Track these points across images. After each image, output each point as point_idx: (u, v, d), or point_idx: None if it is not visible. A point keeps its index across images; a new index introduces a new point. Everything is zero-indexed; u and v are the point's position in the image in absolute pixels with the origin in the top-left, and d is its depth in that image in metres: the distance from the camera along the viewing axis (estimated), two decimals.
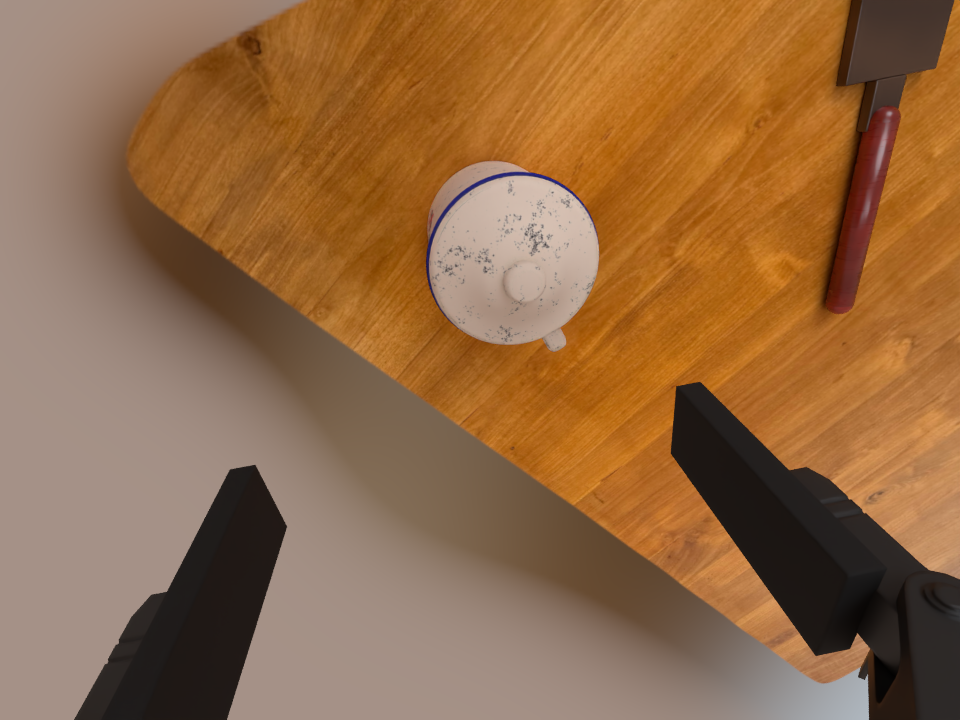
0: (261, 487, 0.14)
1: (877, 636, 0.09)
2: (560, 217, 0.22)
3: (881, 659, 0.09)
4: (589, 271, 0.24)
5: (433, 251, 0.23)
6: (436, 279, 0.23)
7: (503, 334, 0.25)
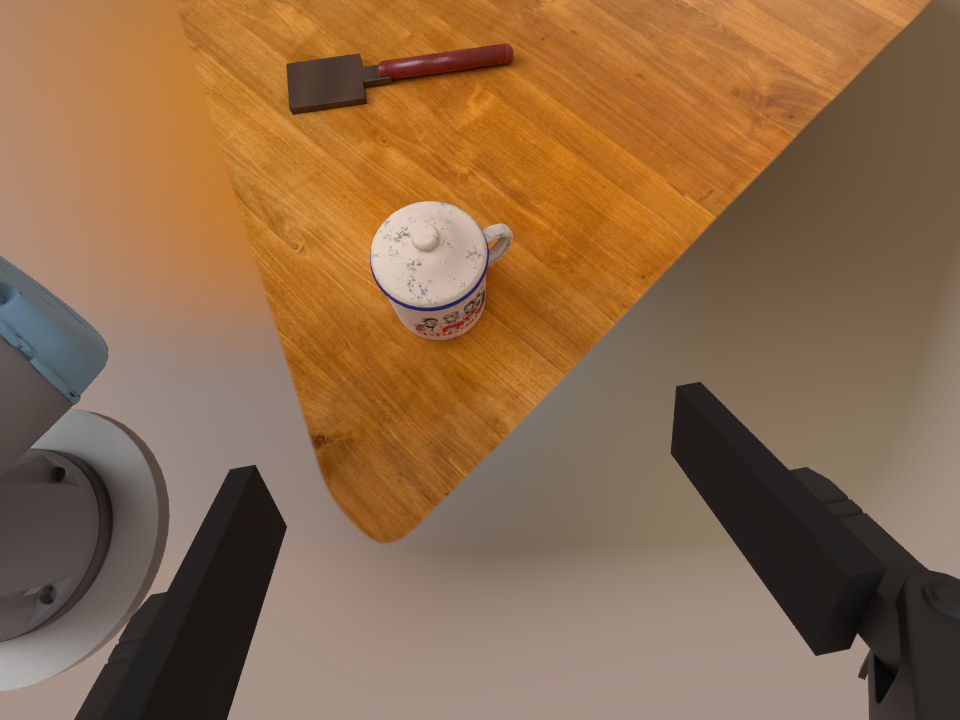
0: (261, 487, 0.14)
1: (877, 636, 0.09)
2: (394, 224, 0.35)
3: (881, 659, 0.09)
4: (432, 204, 0.36)
5: (412, 302, 0.34)
6: (430, 300, 0.34)
7: (474, 256, 0.34)
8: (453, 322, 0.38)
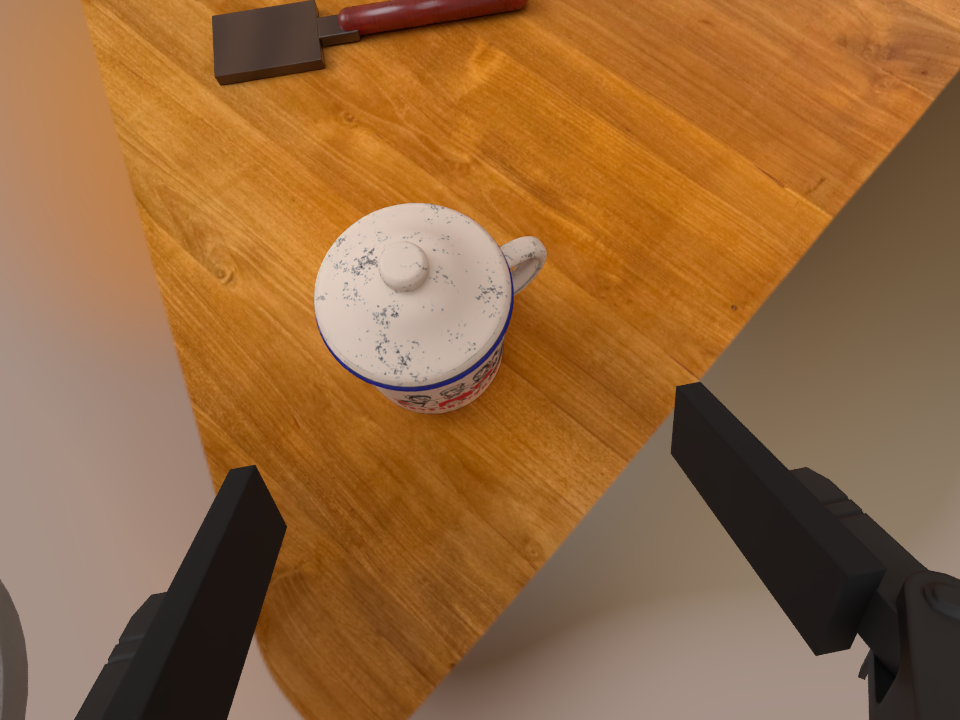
0: (261, 487, 0.14)
1: (877, 636, 0.09)
2: (352, 244, 0.21)
3: (881, 659, 0.09)
4: (416, 208, 0.21)
5: (385, 379, 0.19)
6: (417, 376, 0.19)
7: (490, 295, 0.20)
8: (456, 395, 0.24)
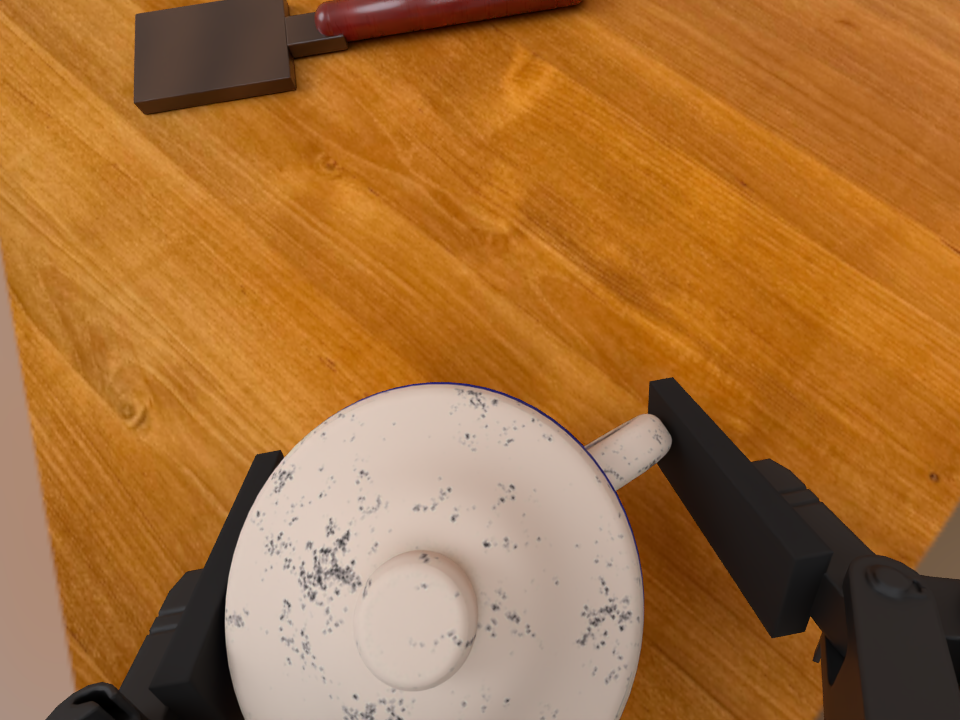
0: None
1: (827, 620, 0.09)
2: (306, 493, 0.10)
3: (832, 642, 0.09)
4: (440, 406, 0.10)
5: None
6: None
7: (607, 627, 0.09)
8: None
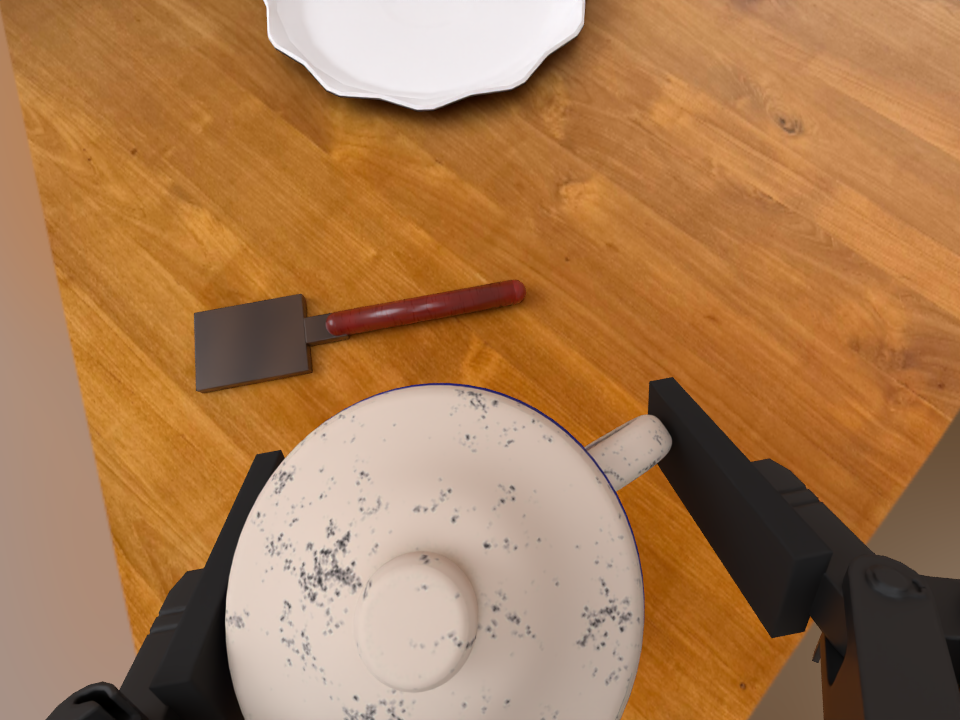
0: None
1: (827, 620, 0.09)
2: (306, 494, 0.10)
3: (831, 642, 0.09)
4: (441, 407, 0.10)
5: None
6: None
7: (607, 628, 0.09)
8: None
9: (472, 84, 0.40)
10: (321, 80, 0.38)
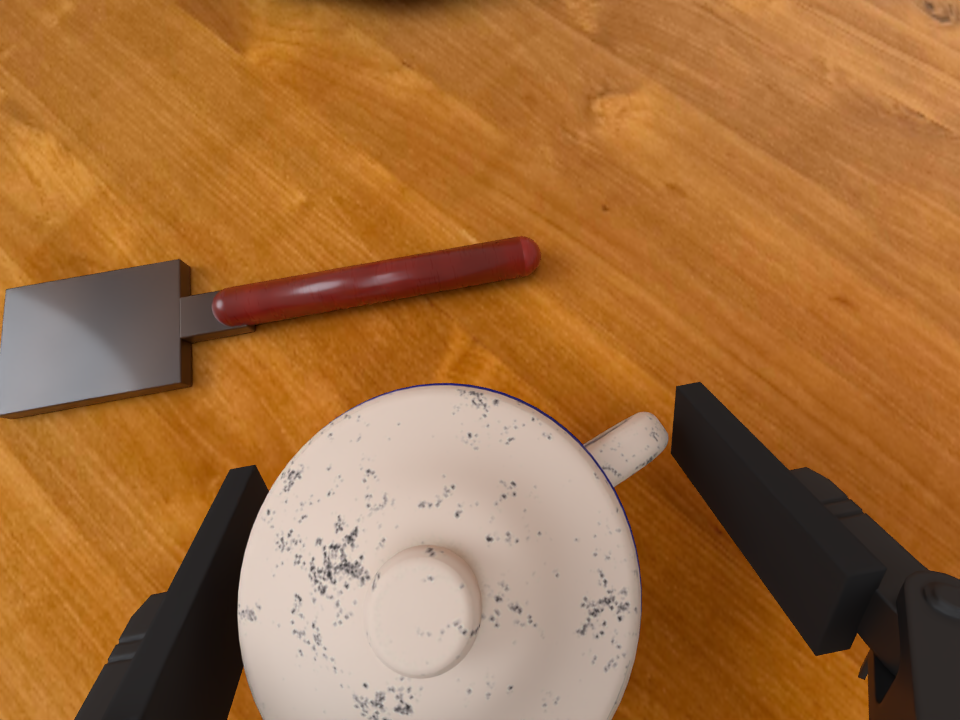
0: (261, 487, 0.14)
1: (877, 636, 0.09)
2: (315, 492, 0.10)
3: (881, 658, 0.09)
4: (443, 407, 0.11)
5: None
6: None
7: (606, 617, 0.09)
8: None
9: None
10: None
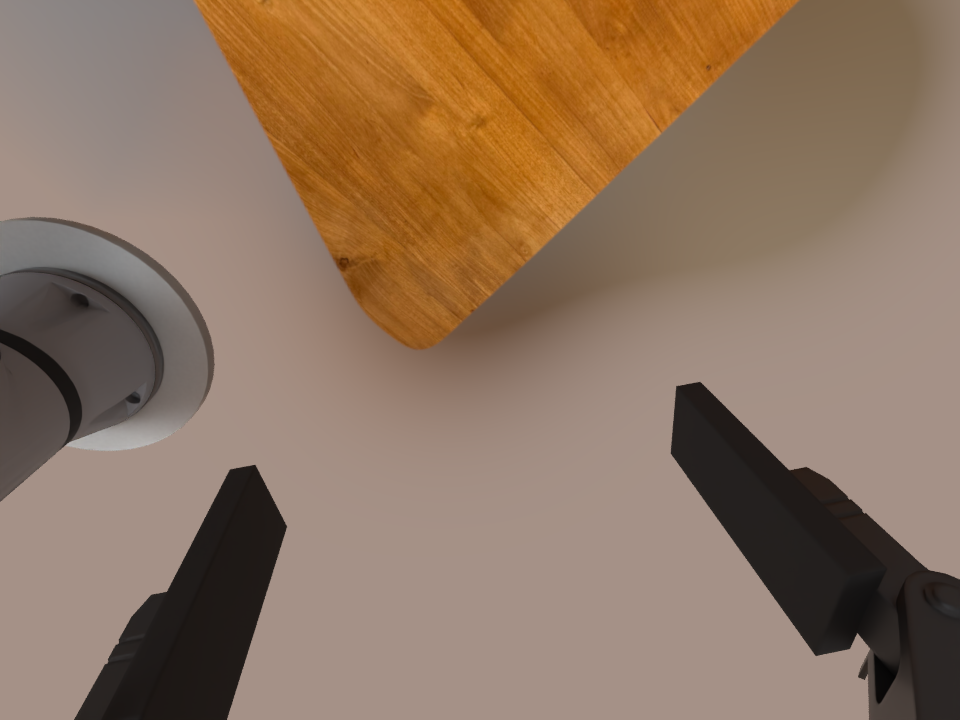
0: (261, 488, 0.14)
1: (877, 636, 0.09)
2: None
3: (881, 659, 0.09)
4: None
5: None
6: None
7: None
8: None
9: None
10: None
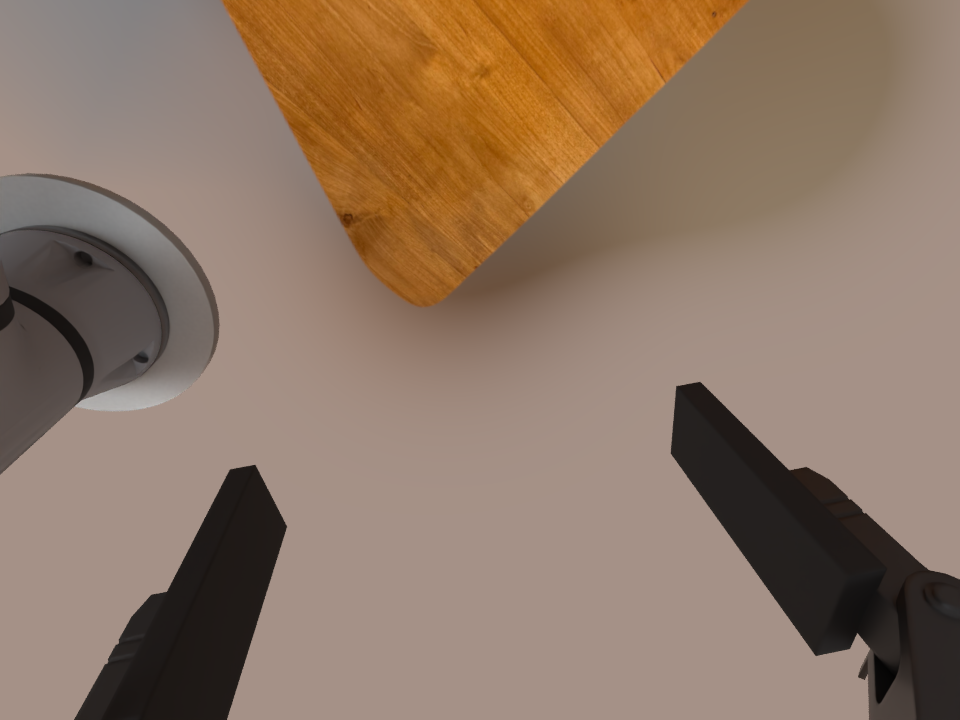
0: (261, 487, 0.14)
1: (877, 636, 0.09)
2: None
3: (881, 659, 0.09)
4: None
5: None
6: None
7: None
8: None
9: None
10: None
